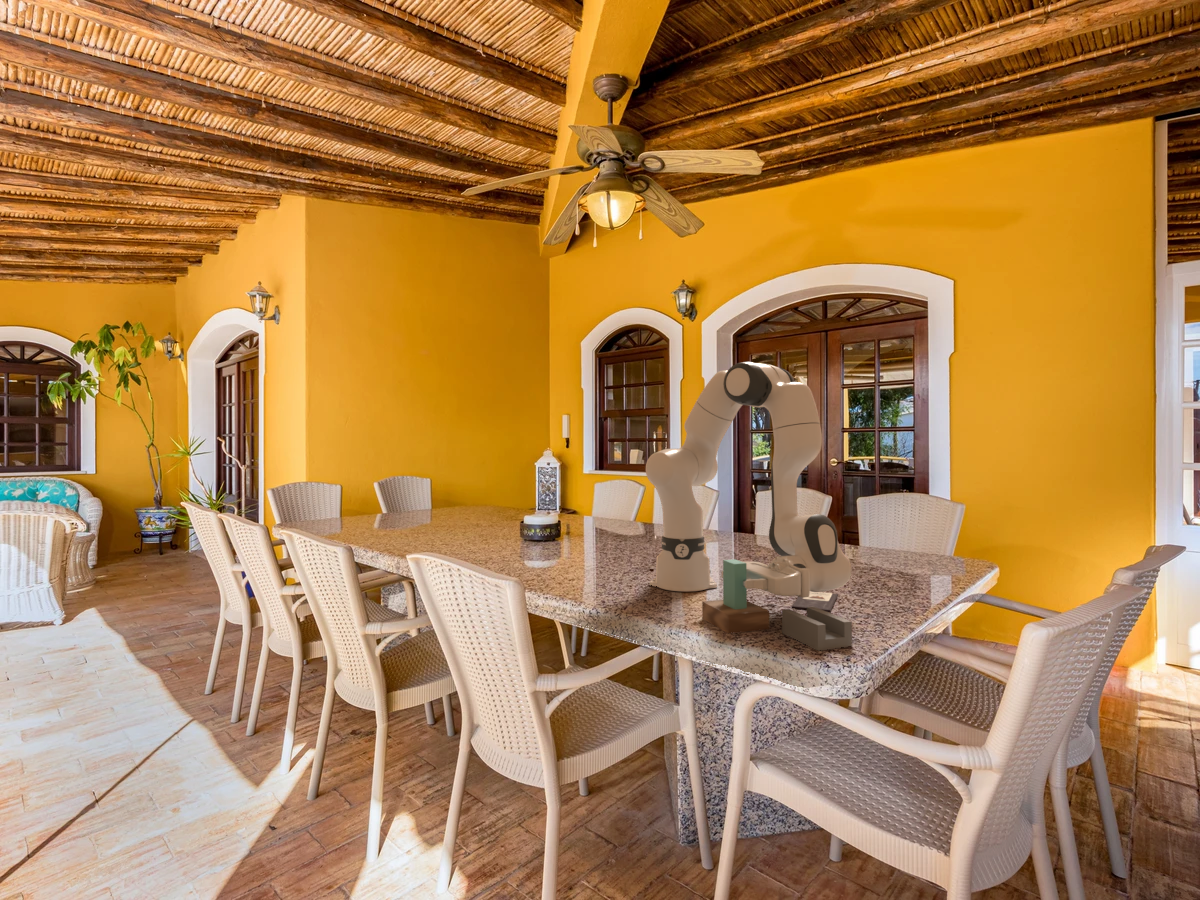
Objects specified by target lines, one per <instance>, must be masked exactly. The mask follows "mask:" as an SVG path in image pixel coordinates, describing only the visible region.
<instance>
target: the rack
mask: <svg viewBox="0 0 1200 900" xmlns="http://www.w3.org/2000/svg"><path fill="white" fill-rule="evenodd" d="M852 623H853V622H852V621H851V620H849V619H847V618H844V617H841V616H839V615H837V614H834V613H831V612H830V613H829V612H826V611H824V610H821V609H819V608H816V607H807V610H806V615H805V614H802V613H799V612H797V611H794V610H791V609H789V608H788V609H781V633H782V634H783V635H785V636H787V635H788V636H787V637H789V636H790V637H789V638H791V637H792V638H791V639H793V638H794V640H795V639H796V640H795V641H797V640H798V641H797V642H799V641H800V642H799V643H801V642H802V643H801V644H803V643H804V644H803V645H805V644H806V646H807V645H808V646H807V647H809V646H810V648H812V649H813V650H816V651H817V650H818V651H819V652H820V650H821V651H827V649H828V650H834V649H835V648H836V649H841V647H844V648H849V647H848V646H851V647H853V624H852Z"/></svg>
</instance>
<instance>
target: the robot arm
mask: <svg viewBox="0 0 1200 900" xmlns="http://www.w3.org/2000/svg"><path fill="white" fill-rule="evenodd" d="M742 406H750V407H753V408H765V409H766V410H767V411H768V412H769V415H770V418H771V424H772V432H773V433H772V434H773V447H774V448H773V458H772V461H771V466H770V467H771V469H770V484H771V485H770V486H771V488H770V490H771V521H770V524H769V530H768V540H769V543H770V545H771V547H772V549H773V550H774V552H775V553H777V555H779V556H775V557H774V558H773V559H772V560H771V562H770V563H768V564H766V563H763V562H760V561H743V562H744V563H746V571H747V579H744V580H743V587H745V588H747V590H750V589H755V590H756V589H757V590H761V591H762V590H763V591H764V592H767V593H770V594H773V595H775V596H781V597H797V598H798V597H802V598H804V597H809V594H810V591H811V592H822V593H824V592H829V591H834V590H837V589H839V588H842V587H843V586H845V585H846V584H847V583H848V582H849V581H850V579H851V576H852V563H851V561H850V558H849V557H848V556H846V555H847V554H845V553H844V552H843V550H842V548H841V545H840V544H839V541H838V530H837V528H836V526H835V523H834V522H833V521H832V520H831V519H830V518H829V517H828V516H826V515H824V514H821V513H817V514H806V515H799V513H798V496H797V494H798V493H797V491H798V490H797V485H798V479H799V477H800V475H801V474H802V472H803V470H804V469H806V467H807V466H809V465H810V464H811V463H812V462H813V461H814V460H815V459H816V458H817V457H818V455H819V454H820V452H821V451H822V445H823V435H822V433H823V432H822V429H821V427H822V426H821V422H820V416H819V413H818V412H819V411H818V408H817V404H816V401H815V398H814V394H813V391H812V390H811V388H810V386H808V385H807V384H805V383H804V382H803V383H802V382H798V381H796V380H795V378H794V376H793V375H792V374H791V373H790V372H789V371H788V370H786V369H784V368H782V367H779V366H775V365H772V364H769V363H763V362H762V363H758V362H752V361H743V362H737V363H736V364H733V365H731V367H729V369H728V370H719V371H717V372H716V373H714V375H713V376H712V378H710V379H709V381H708V382H707V383H706V385H705V386H704V388H703V390H702V391H701V393H700V395H699V396H698V398H697V400H696V401H695V403H694V405H693V407H692V409H691V410H690V412H689V414H688V416H687V418H686V420H685V422H684V426H683V427H684V430H685V433H686V435H685V440H684V443H683V445H681V447H680V448H664V449H662V450H659V451H657V452H654V453H652V454H651V455H650V456H649V457H648V459H647V461H646V462H645V463H646V464H645V475H646V477H647V479H648V481H649V482H650V483H651V484H652V485H653V486H654V487H655V490H656V492H657V494H658V497H659V500H660V503H661V508H662V525H663V526H662V529H663V531H662V533H663V535H662V536H661V542H660V543H661V549H662V550H661V551H660V553H659V554H658V555H657V556H656V562H655V563H656V564H655V565H656V568H655V577H654V578H653V579H651V580H650V581H649V586H651V585H652V587H656V586H657V587H656V588H659V589H662V590H666V591H672V592H698V591H703V590H708V589H715V588H718V583H717V582H716V581H715V580H714V579H713V578H712V577H711V568H710V567H711V566H710V564H711V562H710V557H709V556H708V554H706V553H705V544H706V543H705V537H704V536H703V535H704V534H703V533H704V531H703V528H704V527H703V522H704V521H703V515H704V514H703V509H702V507H701V505H700V504H699V503H698V502H697V500H696V498H695V495H694V492H693V487H699V486H703V485H705V484H707V483H708V482H711V481H713V479H714V478H715V477H716V475H717V473H718V469H719V466H718V461H717V456H718V451H719V448H720V445H721V442H722V441H723V438H724V437H725V435H726V433H727V431H728V429H729V428H730V426H731V425H732V422H733V421H734V419H735V418H736V416H737V414H738V412H739V410H740V409H741V408H742ZM721 579H723V570H721Z"/></svg>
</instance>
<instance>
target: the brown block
mask: <svg viewBox="0 0 1200 900" xmlns="http://www.w3.org/2000/svg"><path fill="white" fill-rule="evenodd" d="M701 604H702V607H701V608H702V609H701V610H702V611H701V613H702V620H703V621H706V623H707V622H708V623H709V624H711V625H713V626H714V627H716V628H717V629H719V630H721V631H723V632H725V633H727V635H728V634H729V635H730V634H738V633H747V632H748V633H749V632H754V631H755V632H756V631H765V630H766V631H767V630H770V610H768V609H766V608H763V607H762V606H758V604H755V603H752V602H750V601H748V600H747V608H744V609H733V608H731V607H729V606H726V605H724V604H723V599H715V600H707V601H706V600H705V601H704V600H703V601H702V603H701Z"/></svg>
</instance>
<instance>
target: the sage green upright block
mask: <svg viewBox="0 0 1200 900" xmlns="http://www.w3.org/2000/svg"><path fill="white" fill-rule="evenodd" d="M744 562H745V561H741V560H739V559H723V561H722V563H723V565H722V566H723V567H722V569H723V570H722V571H723V578H722V581H723V582H722V587H723V589H722V590H723V591H722V592H723V593H722V595H723V598H722V600H723V604H724V605H726V606H729V607H731V608H733V609H744V608H747V601H748V600H747V595H748V594H747V590H748V589H747V588H745V587H743V580H744V579H747V571H746V563H744Z"/></svg>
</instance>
